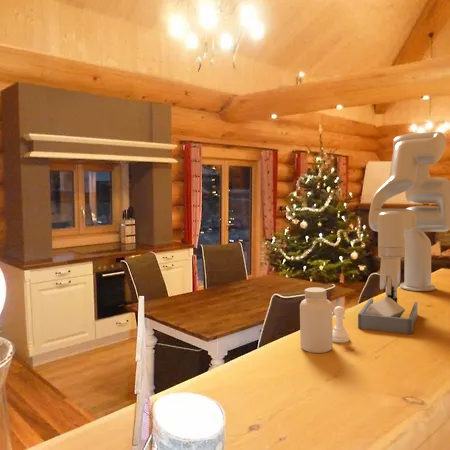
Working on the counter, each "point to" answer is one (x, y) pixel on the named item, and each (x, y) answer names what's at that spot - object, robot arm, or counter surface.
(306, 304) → the pill bottle
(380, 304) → the skincare box
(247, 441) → the counter surface
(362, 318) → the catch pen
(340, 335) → the chess pawn
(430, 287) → the robot arm
